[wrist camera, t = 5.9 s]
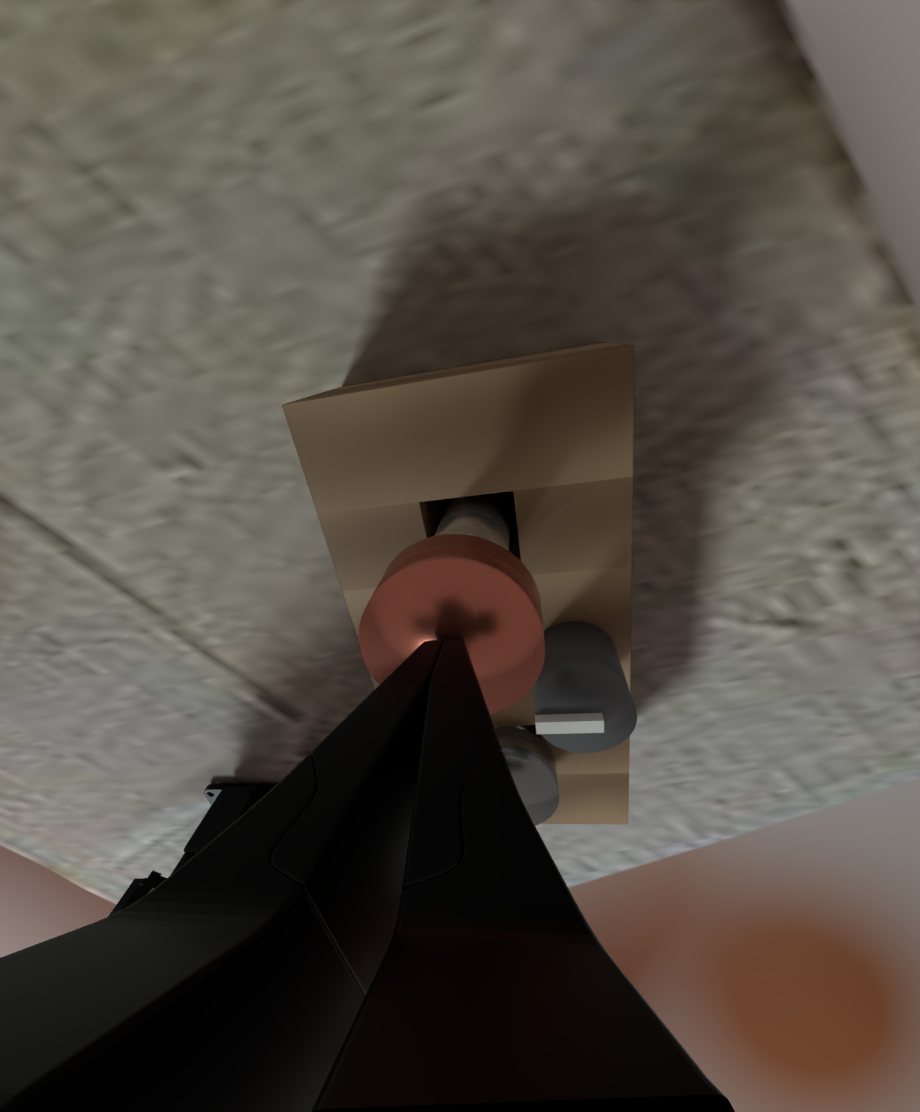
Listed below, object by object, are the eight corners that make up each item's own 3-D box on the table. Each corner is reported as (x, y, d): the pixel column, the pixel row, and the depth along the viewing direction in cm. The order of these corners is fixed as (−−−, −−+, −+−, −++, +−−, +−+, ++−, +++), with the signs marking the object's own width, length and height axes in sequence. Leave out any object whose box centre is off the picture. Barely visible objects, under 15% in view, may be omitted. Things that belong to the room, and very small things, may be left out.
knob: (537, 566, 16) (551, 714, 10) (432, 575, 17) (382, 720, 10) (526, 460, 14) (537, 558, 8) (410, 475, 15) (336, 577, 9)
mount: (607, 734, 24) (628, 824, 20) (434, 739, 26) (417, 822, 22) (600, 342, 16) (634, 345, 11) (341, 386, 17) (281, 405, 13)
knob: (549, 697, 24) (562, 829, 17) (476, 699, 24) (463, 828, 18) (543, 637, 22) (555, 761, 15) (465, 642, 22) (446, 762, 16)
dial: (616, 684, 16) (638, 760, 13) (535, 687, 17) (540, 762, 14) (615, 618, 15) (640, 686, 12) (528, 624, 15) (531, 691, 13)
